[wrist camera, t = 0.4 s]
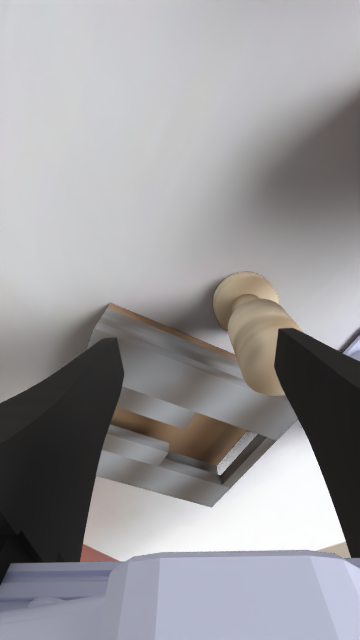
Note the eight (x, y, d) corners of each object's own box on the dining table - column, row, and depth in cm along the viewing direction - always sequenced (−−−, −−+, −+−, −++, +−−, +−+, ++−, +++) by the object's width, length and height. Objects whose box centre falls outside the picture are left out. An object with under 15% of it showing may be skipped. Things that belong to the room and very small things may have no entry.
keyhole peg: (284, 287, 21) (351, 347, 13) (251, 334, 23) (290, 413, 15) (232, 261, 20) (268, 308, 12) (202, 313, 22) (215, 384, 14)
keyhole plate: (284, 375, 25) (305, 411, 21) (207, 466, 31) (211, 507, 27) (110, 302, 21) (93, 328, 17) (64, 422, 28) (44, 461, 24)
